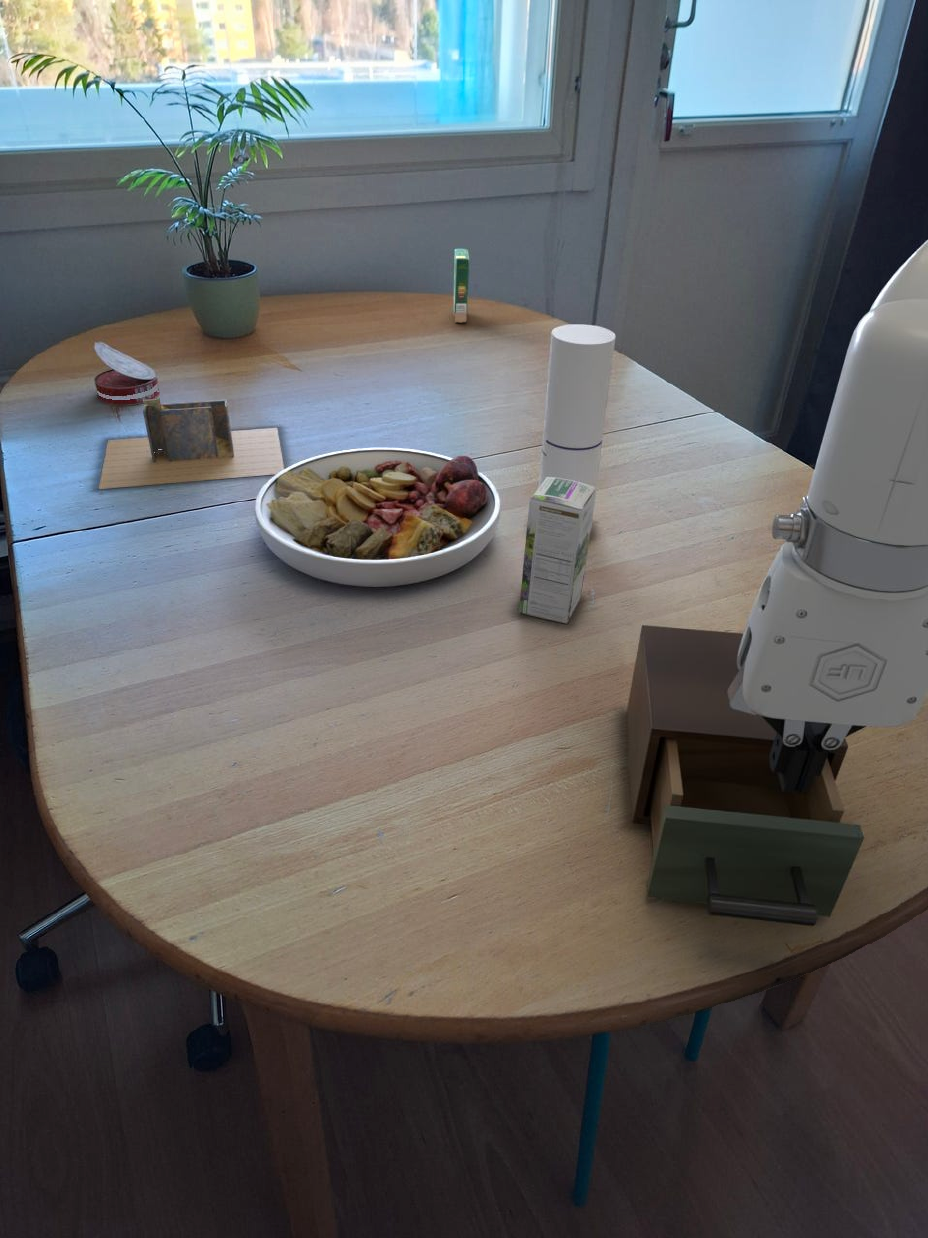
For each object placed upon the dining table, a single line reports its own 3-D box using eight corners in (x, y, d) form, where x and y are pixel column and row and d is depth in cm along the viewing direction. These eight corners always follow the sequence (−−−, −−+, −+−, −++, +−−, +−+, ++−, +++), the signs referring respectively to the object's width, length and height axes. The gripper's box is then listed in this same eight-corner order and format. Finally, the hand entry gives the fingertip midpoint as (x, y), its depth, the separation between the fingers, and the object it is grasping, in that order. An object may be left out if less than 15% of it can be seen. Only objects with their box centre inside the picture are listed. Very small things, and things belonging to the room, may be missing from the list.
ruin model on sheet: (98, 489, 118) (81, 421, 113) (108, 440, 131) (93, 376, 125) (285, 473, 123) (278, 407, 118) (277, 427, 136) (270, 366, 131)
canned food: (126, 410, 152) (131, 351, 151) (170, 415, 148) (176, 354, 147) (72, 399, 142) (77, 336, 141) (118, 404, 138) (123, 339, 136)
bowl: (325, 630, 93) (319, 568, 89) (222, 513, 113) (214, 458, 109) (546, 554, 107) (552, 497, 103) (420, 462, 127) (420, 411, 123)
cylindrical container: (560, 548, 108) (581, 348, 94) (524, 524, 113) (538, 330, 99) (602, 532, 112) (628, 337, 97) (565, 509, 117) (585, 320, 102)
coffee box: (467, 323, 182) (469, 257, 174) (454, 323, 182) (455, 257, 174) (466, 312, 188) (468, 248, 181) (453, 312, 188) (454, 247, 181)
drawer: (845, 972, 61) (883, 892, 56) (650, 950, 62) (670, 870, 57) (796, 792, 74) (824, 715, 69) (638, 777, 76) (653, 700, 70)
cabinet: (812, 841, 71) (848, 746, 65) (632, 822, 72) (651, 728, 66) (781, 728, 82) (810, 638, 76) (626, 714, 83) (641, 624, 77)
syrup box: (533, 587, 101) (543, 473, 93) (583, 599, 99) (597, 484, 91) (518, 613, 97) (526, 496, 88) (569, 626, 95) (583, 508, 87)
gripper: (741, 567, 45) (682, 809, 56) (1041, 589, 44) (923, 831, 55) (721, 500, 51) (672, 730, 62) (985, 517, 50) (889, 748, 61)
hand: (790, 777), depth 58 cm, fingers closed
